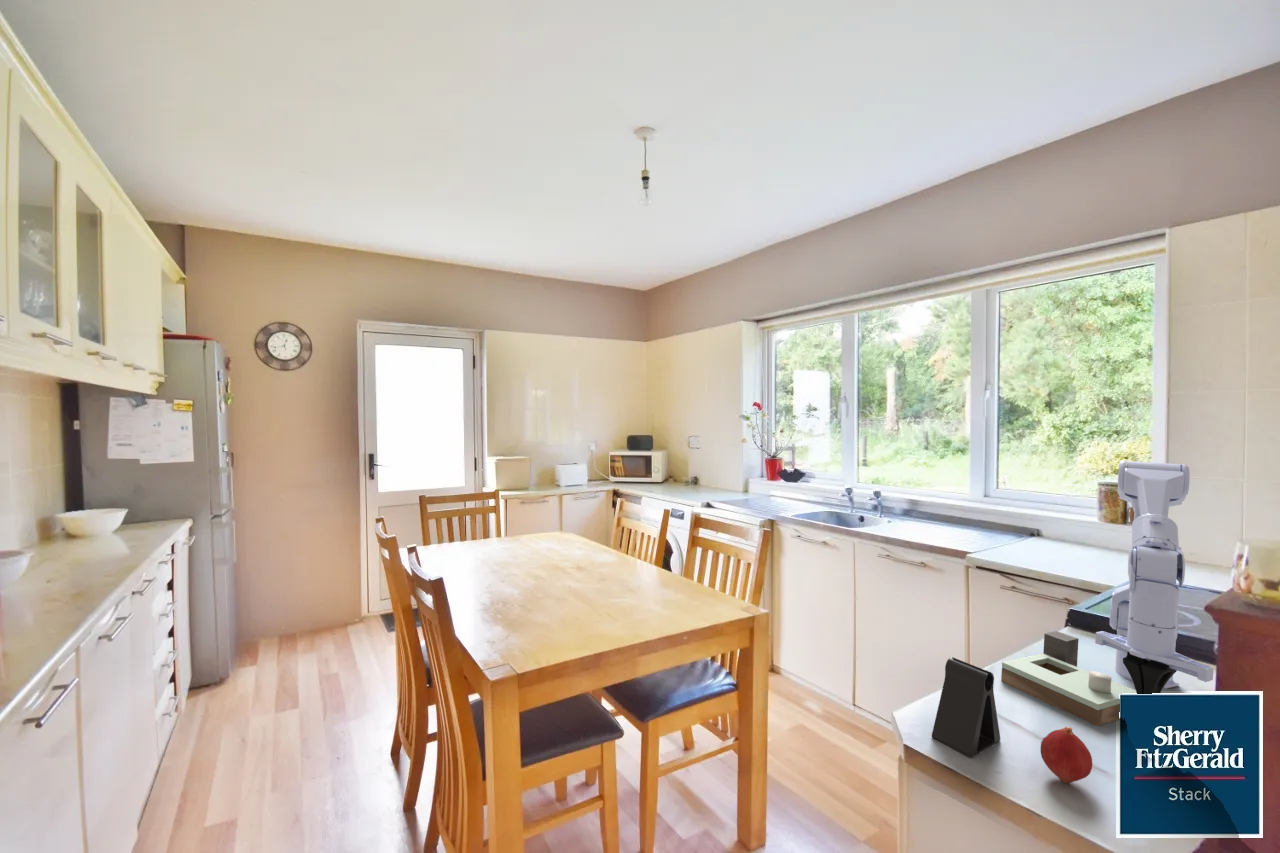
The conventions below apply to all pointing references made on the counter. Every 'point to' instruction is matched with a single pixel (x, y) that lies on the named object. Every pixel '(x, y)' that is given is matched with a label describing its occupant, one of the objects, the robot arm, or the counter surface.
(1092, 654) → the counter surface
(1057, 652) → the block
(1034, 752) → the counter surface
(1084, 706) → the brown box
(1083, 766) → the onion
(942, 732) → the phone stand
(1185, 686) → the counter surface
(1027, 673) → the lid
